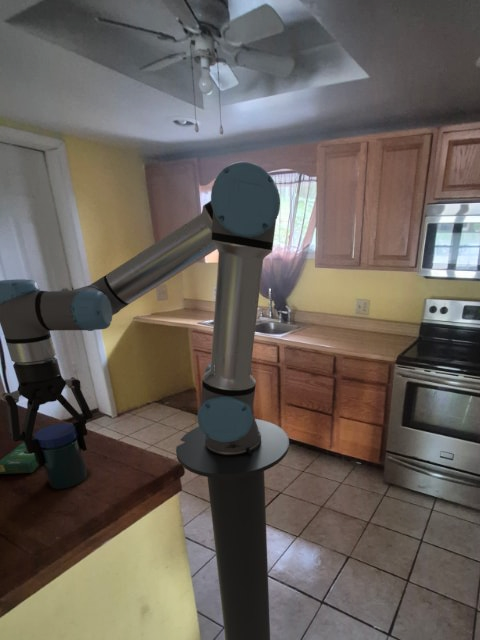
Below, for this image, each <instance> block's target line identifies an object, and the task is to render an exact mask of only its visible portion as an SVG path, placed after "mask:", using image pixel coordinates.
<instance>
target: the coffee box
mask: <svg viewBox="0 0 480 640" xmlns="http://www.w3.org/2000/svg"><path fill="white" fill-rule="evenodd" d="M38 467H40V465H39V464H38V463H37V461H36V458H35V455H34V453H32V454H30V453H29V452H28V451H27V450H26V447H25V444H24V441H22V442H21V443H20V444H19V445H17V447H15V448H14V449H12V450H11V451H10V452H9V453H8V454H6V455H4V457H3V458H2V459H0V475H8V474H9V475H10V474H11V475H13V474H32V473H34V472H35V470H37V469H38Z"/></svg>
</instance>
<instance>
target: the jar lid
mask: <svg viewBox="0 0 480 640" xmlns="http://www.w3.org/2000/svg"><path fill="white" fill-rule="evenodd" d="M77 435H78V434H77V430H76V427H75V426H74V425H73V423H56V424H52V425H48V426H45V427H43V428H41V429H39V430H37V431H36V432H35V433H34V435H33V436H34V437H35V438H36V439H37V443H38V446H39V447H42V448H52V447H58V446H61V445H64V444H67V443H69V442H71V441H73V440H74V439H75V438H76V437H77Z"/></svg>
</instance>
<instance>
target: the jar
mask: <svg viewBox="0 0 480 640" xmlns="http://www.w3.org/2000/svg"><path fill="white" fill-rule="evenodd" d="M39 449H40V452H41V455H42V459H43V462H44V466H43V467H44V471H45V474H46V477H47V480H48V484H49V486H50V487H51V488H52V489H56V490H57V489H58V490H60V489H62V490H63V489H69V488H71V487H74V486H78V485H79V484H81V483H82V482H83V481H84V480H85V479H87V477H88V472H87V471H88V470H87V467H86V463H85V460H84V456H83V453H82V452H83V451H82V449H81V448H80V444H79V441H78V437H76V438H75V439H74V440H73V441H71V442H69V443H67V444H64V445H61V446H58V447H52V448H42V447H39Z"/></svg>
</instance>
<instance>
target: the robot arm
mask: <svg viewBox="0 0 480 640" xmlns="http://www.w3.org/2000/svg"><path fill="white" fill-rule="evenodd" d="M280 210H281V197H280V193H279V188H278V186H277V183H276V182H275V180H274V179H273V177H272V176H271V174H270V173H269V172H268V171H266V169H264V168H263V167H262V166H260V165H258V164H256V163H253V162H250V161H238V162H237V161H236V162H234V163H231V164H229V165H227V166H226V167H224V168H222V170H221V171H220V172H219V173H218V174H217V176H216V178H215V180H214V182H213V185H212V186H211V192H210V201H208V202H206V203H205V204H204V205H202V209H201V213H200V214H198V215H196V216H195V217H194V218H192V219H190V220H189V221H187V222H186V223H184V224H182V225H181V226H180V227H178V228H176V229H175V230H173V231H172V232H170V233H169V234H167V235H165V236H164V237H162V238H161V239H159V240H158V241H156V242H154V243H153V244H151V245H150V246H149V247H147V248H145V249H144V250H143V251H140V252H139V253H137V254H136V255H134V256H133V257H132V258H129V259H128V260H126V261H125V262H124V263H122V264H120V265H119V266H117V267H116V268H114V269H112V270H111V271H110V272H108V273H106V274H105V275H104V276H102V277H100V278H99V279H97V280H96V281H94V282H93V283H91V284H88V285H86V286H82V287H79V288H75V289H72V290H49V291H48V290H41V289H40V287H39V285H38V283H37V282H36V280H33V279H25V278H23V279H22V278H21V279H20V278H19V279H18V278H17V279H3V280H2V279H1V280H0V327H1V330H2V333H3V335H4V340H5V344H6V346H7V350H8V354H9V357H10V360H11V362H13V365H12V367H13V370H14V373H15V376H16V379H17V384H18V387H17V390H13V391H11V392H4V393H2V395H1V396H2V398H3V400H4V402H5V403H6V409H7V419H8V428H9V429H8V430H9V437H10V438H11V439H12V440H13V442H21V441H22V442H24V444H25V447H26V450H27V451H28V452H29V453H30V454H32V453H34V455H35V458H36V461H37V463H38V464H39V467H44V462H43V459H42V455H41V452H40V449H39V446H38V443H37V439H36V438H35V437H34V435H33V433H34V428H35V424H36V419H37V415H38V411H39V410H40V406H42V405H45V404H47V403H53V402H59V404H60V405H61V406H62V407H63V409H65V410H66V411H67V412H68V413H69V414H70V416H71V417H72V418H73V419H74V420H75V421H73V422H72V425H74V426H75V427H76V430H77V434H78V435H77V437H78V441H79V444H80V448H81V451H82V452H86V451H87V450H88V449H87V445H86V441H85V436H87V435H88V429H87V425H86V424H87V421H88V420H91V419H92V418H93V417H94V416H93V413H92V410H91V408H90V407H89V405H88V402H87V400H86V398H85V396H84V394H83V392H82V389H81V380H80V379H78V378H76V377H74V376H73V377H70V378H66V379H65V378H64V377H63V376H62V372H61V369H60V365H59V361H58V359H57V358H56V355H57V353H56V350H55V346H54V343H53V338H52V335H51V331H53V332H54V331H88V332H93V331H97V330H106V329H108V328H109V327H111V324H112V322H113V316H114V315H116V314H118V313H119V312H121V311H122V310H123V309H124V308H126V307H128V306H129V305H130V304H132V303H134V302H135V301H137V300H138V299H140V298H142V297H143V296H145V295H146V294H148V293H150V292H151V291H153V290H154V289H157V288H158V287H159V286H160V285H162V284H164V283H165V282H167V281H169V280H170V279H172V278H174V277H175V276H177V275H178V274H180V273H181V272H183V271H184V270H187V269H188V268H189V267H191V266H193V265H194V264H196V263H197V262H199V261H200V260H202V259H204V258H205V257H207V256H209V255H210V254H212V253H213V252H215V251H217V252H218V256H217V257H218V259H217V271H216V274H217V275H216V286H215V300H214V314H213V325H212V326H213V327H212V340H211V354H210V355H211V356H210V364H208V365H207V366H206V367H205V371H204V374H202V379H201V380H202V381H201V391H200V393H201V394H200V405H199V408H198V410H197V414H196V415H197V423H198V427H200V429H201V430H202V432H203V433H205V434H206V439H205V443H206V448H207V450H208V451H209V452H211V453H213V454H215V455H218V456H224V457H235V456H241V455H245V454H249V455H252V452H253V451H254V450H256V449H257V448H258V447H259V446H260V444H261V433H260V431H259V429H258V426H257V423H256V421H255V419H256V418H255V416H254V415H255V414H254V402H255V393H256V387H257V386H256V384H257V380H256V379H255V378H254V376H253V372H252V361H253V352H254V345H255V344H254V343H255V335H256V334H255V333H256V326H257V319H258V318H257V317H258V309H259V301H260V292H261V283H262V275H263V265H264V260H265V258H266V257H268V256H269V255H270V254H271V253H273V249H274V248H273V247H274V240H275V232H276V223H277V219H278V216H279V214H280ZM66 386H67V388H69V389H70V390H71V393H72V395H73V397H74V399H75V400H76V402H77V405H78V407H79V409H80V411H81V413H82V414H80V413H79V412H78V410H76V409H75V408H74V406H73V405H72V404H71V402H69V401H68V399H67V398H66V397H65V396H64V395H63V394H62V393H63V391H64V389H65V387H66ZM20 397H22V398H25V399H26V400H27V402H26V411H25V415H24V420H23V425H22V430H21V428H20V418H19V408H18V404H17V403H19V401H20Z"/></svg>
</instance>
